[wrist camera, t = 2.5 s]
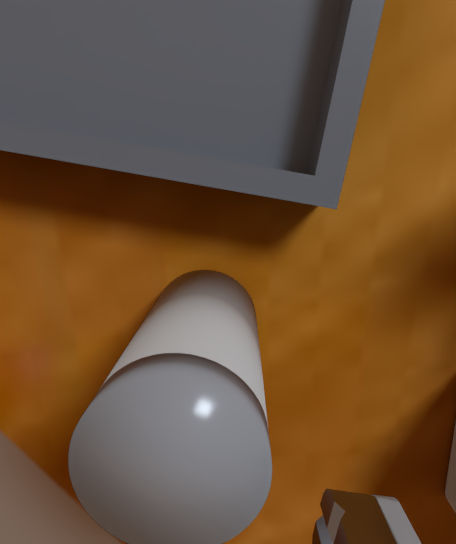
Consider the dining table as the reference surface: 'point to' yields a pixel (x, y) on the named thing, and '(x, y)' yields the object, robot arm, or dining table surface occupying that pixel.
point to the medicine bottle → (452, 475)
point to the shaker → (179, 422)
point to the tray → (191, 89)
